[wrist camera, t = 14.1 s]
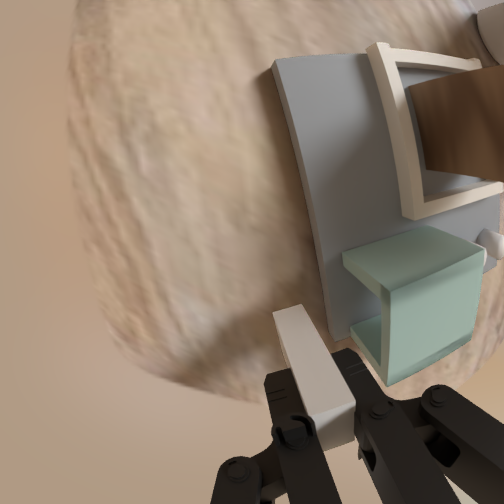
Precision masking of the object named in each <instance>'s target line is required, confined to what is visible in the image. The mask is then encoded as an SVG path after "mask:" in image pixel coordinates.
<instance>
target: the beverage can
mask: <svg viewBox="0 0 504 504" xmlns="http://www.w3.org/2000/svg"><path fill="white" fill-rule="evenodd" d="M477 20H478V22H477V24H478V30H479V33H480V35H481V38H482V40H483V42H484V44H485V46H486V48H487V49H488V51H489V53H490V54H491V56H492V57H493V58H494V59H495V60H496V61H497V62H498V63H499V64H501V65H504V3H501V4H498V5H494V6H491V7H488V8H485V9H482V10H480V11H479V12H478V14H477Z"/></svg>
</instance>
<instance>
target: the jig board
mask: <svg viewBox="0 0 504 504" xmlns="http://www.w3.org/2000/svg"><path fill="white" fill-rule="evenodd" d="M366 52H367V54H328V55H312V56H301V57H292V58H283V59H276V60H275V61H274V63H273V64H272V66H271V70H272V73H273V76H274V79H275V83H276V86H277V89H278V93H279V96H280V100H281V103H282V107H283V110H284V114H285V118H286V121H287V125H288V129H289V133H290V137H291V141H292V144H293V148H294V152H295V157H296V161H297V165H298V169H299V173H300V178H301V182H302V186H303V191H304V195H305V200H306V205H307V209H308V214H309V219H310V224H311V229H312V234H313V239H314V244H315V250H316V255H317V261H318V266H319V272H320V278H321V284H322V290H323V296H324V303H325V309H326V316H327V323H328V331H329V333H330V335H331V336H332V338H333V340H334V341H335V342H337V341H340V340H343V339H346V338H348V337H351V331H350V326H352V325H355V324H357V323H360V322H362V321H365V320H368V319H370V318H373V317H375V316H378V315H380V314H381V300H380V299H379V298H378V297H377V296H376V295H375V294H374V293H373V292H372V291H371V290H369V289H368V288H367V287H366V286H365V285H364V284H363V283H362V282H361V281H360V280H358V279H357V278H356V277H355V276H354V275H353V274H352V273H351V272H350V271H348V270H347V269H346V268H345V267H344V265H343V258H342V252H345V251H348V250H351V249H354V248H357V247H361V246H364V245H367V244H370V243H373V242H376V241H379V240H383V239H386V238H389V237H392V236H395V235H398V234H401V233H404V232H407V231H410V230H413V229H416V228H419V227H422V226H425V225H429V226H432V227H435V228H437V229H440V230H442V231H445V232H447V233H449V234H452V235H454V236H457V237H459V238H461V239H464V240H466V241H468V242H471V243H473V244H475V245H478V246H480V247H482V248H484V249H485V254H484V266H483V274H484V273H486V272H487V271H489V270H491V269H492V268H494V267H496V265H497V260H501V259H502V258H503V256H504V235H501V234H499V222H500V197H499V193H502V192H503V182H498V181H493V180H488V179H483V178H477V177H472V176H466V175H460V174H453V173H446V172H439V171H432V170H426V165H425V159H424V153H423V147H422V142H421V137H420V132H419V127H418V123H417V118H416V114H415V110H414V106H413V102H412V98H411V95H410V91H409V88H408V86H411V85H414V84H418V83H421V82H425V81H428V80H432V79H436V78H440V77H444V76H448V75H452V74H456V73H461V72H466V71H470V70H475V69H480V68H482V65H481V62H480V59H476V58H471V59H467V60H466V59H461V58H457V57H452V56H447V55H442V54H436V53H430V52H423V51H416V50H407V49H397V48H390V46H389V44H388V43H381V42H376V43H374V44H373V45H371V46H369V47H368V48H366Z"/></svg>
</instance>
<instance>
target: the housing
mask: <svg viewBox="0 0 504 504" xmlns="http://www.w3.org/2000/svg"><path fill="white" fill-rule="evenodd" d="M484 254H485V249H484V248H482V247H480V246H478V245H475V244H473V243H471V242H468V241H466V240H464V239H461V238H459V237H457V236H454V235H452V234H449V233H447V232H445V231H442V230H440V229H437V228H435V227H432V226H429V225H425V226H422V227H419V228H416V229H413V230H410V231H407V232H404V233H401V234H398V235H395V236H392V237H389V238H386V239H383V240H379V241H376V242H373V243H370V244H367V245H364V246H361V247H357V248H354V249H351V250H348V251H345V252H342V258H343V265H344V267H345V268H346V269H347V270H348V271H350V272H351V273H352V274H353V275H354V276H355V277H356V278H357V279H358V280H360V281H361V282H362V283H363V284H364V285H365V286H366V287H367V288H368V289H369V290H371V291H372V292H373V293H374V294H375V295H376V296H377V297H378V298H379V299H380V300H381V314H380V315H378V316H375V317H373V318H370V319H368V320H365V321H362V322H360V323H357V324H355V325H352V326H350V331H351V337H352V339H353V340H354V341H355V343H356V344H357V346H358V347H359V348H360V350H361V351H362V353H363V354H364V355H365V357H366V358H367V360H368V361H369V363H370V364H371V365H372V367H373V368H374V370H375V371H376V373H377V374H378V376H379V377H380V378H381V380H382V381H383V383H384V384H385V386H386V387H389V386H391V385H393V384H395V383H397V382H399V381H401V380H403V379H405V378H407V377H409V376H411V375H413V374H415V373H417V372H419V371H421V370H422V369H424V368H426V367H428V366H430V365H431V364H433V363H435V362H437V361H438V360H440V359H442V358H443V357H445V356H447V355H448V354H450V353H452V352H453V351H455V350H456V349H458V348H460V347H461V346H463V345H464V344H466V343H467V342H469V341H470V340H471V337H472V333H473V329H474V324H475V319H476V314H477V309H478V303H479V297H480V291H481V283H482V275H483V266H484Z"/></svg>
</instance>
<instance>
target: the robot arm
mask: <svg viewBox="0 0 504 504" xmlns="http://www.w3.org/2000/svg"><path fill="white" fill-rule="evenodd" d="M272 314H273V318H274V321H275V325H276V329H277V333H278V337H279V341H280V345H281V349H282V353H283V356H284V359H285V362H286V365H287V369H284V370H280V371H277V372H273V373H270V374H267V375H266V379H265V382H264V387H265V392H266V396H267V401H268V405H269V410H270V414H271V418H272V423H273V426H272V430H271V435H272V437H273V441H272V443H271V445H270V446H269V447H268V448H267V449H265V450H264V451H262V452H261V453H259V454H257V455H255V456H253V457H251V458H249V457H243V456H239V457H233V458H231V459H228V460H226V461H225V462H224V463H223V464H222V465H221V466H220V468H219V471H218V473H217V478H216V482H215V486H214V490H213V494H212V499H211V503H210V504H275V499H276V498H277V497H279V496H281V495H283V494H285V493H287V494H288V498H289V502H290V504H342V502H341V499H340V497H339V494H338V491H337V488H336V486H335V483H334V480H333V477H332V475H331V472H330V470H329V467H328V464H327V461H326V458H325V455H324V453H323V452H324V451H327V450H329V449H332V448H335V447H338V446H341V445H344V444H346V443H349V442H352V441H354V440H355V436H356V438H357V440H358V443H359V449H358V458H359V460H360V459H361V458H362V459H363V461H364V463H365V465H366V467H367V469H368V472H369V474H370V476H371V478H372V480H373V483H374V485H375V487H376V489H377V491H378V494H379V496H380V498H381V500H382V503H383V504H461V503H460V501H459V499H458V497H457V496H456V494H455V492H454V491H453V489H452V487H451V486H450V484H449V482H448V481H447V479H446V477H445V476H447V477H448V478H449V479H450V480H451V481H452V482H453V483H455V484H456V485H457V486H458V487H459V488H460V489H462V490H463V491H464V492H465V493H466V494H468V495H469V496H470V497H471V498H472V499H474V500H475V501H476V502H477V503H478V504H504V424H502V423H501V422H499V421H498V420H497V419H495V418H493V417H492V416H491V415H489V414H488V413H486V412H485V411H483V410H482V409H481V408H479V407H478V406H476V405H475V404H473V403H472V402H470V401H469V400H468V399H466V398H465V397H463V396H462V395H460V394H459V393H458V392H456V391H455V390H453V389H452V388H450V387H448V386H446V385H439V384H438V385H434V386H431V387H429V388H428V389H426V390H425V392H424V393H423V394H422V397H419V398H414V399H409V400H394V399H393V398H390V397H388V396H386V395H385V393H384V392H383V391H382V389H381V388H380V386H379V385H378V383H377V382H376V380H375V379H374V377H373V376H372V374H371V373H370V371H369V370H368V369H367V367H366V365H365V364H364V363H363V361H362V360H361V358H360V357H359V355H358V354H357V353H356V352H354V351H353V350H351V349H349V348H346V349H343V350H341V351H338V352H335V353H332V354H330V353H329V351H328V349H327V348H326V346H325V344H324V342H323V340H322V339H321V337H320V335H319V333H318V332H317V330H316V328H315V326H314V325H313V323H312V321H311V319H310V317H309V316H308V314H307V312H306V310H305V309H304V307H303V305H302V304H299V305H296V306H292V307H289V308H285V309H282V310H279V311H275V312H272ZM444 475H445V476H444Z"/></svg>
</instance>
